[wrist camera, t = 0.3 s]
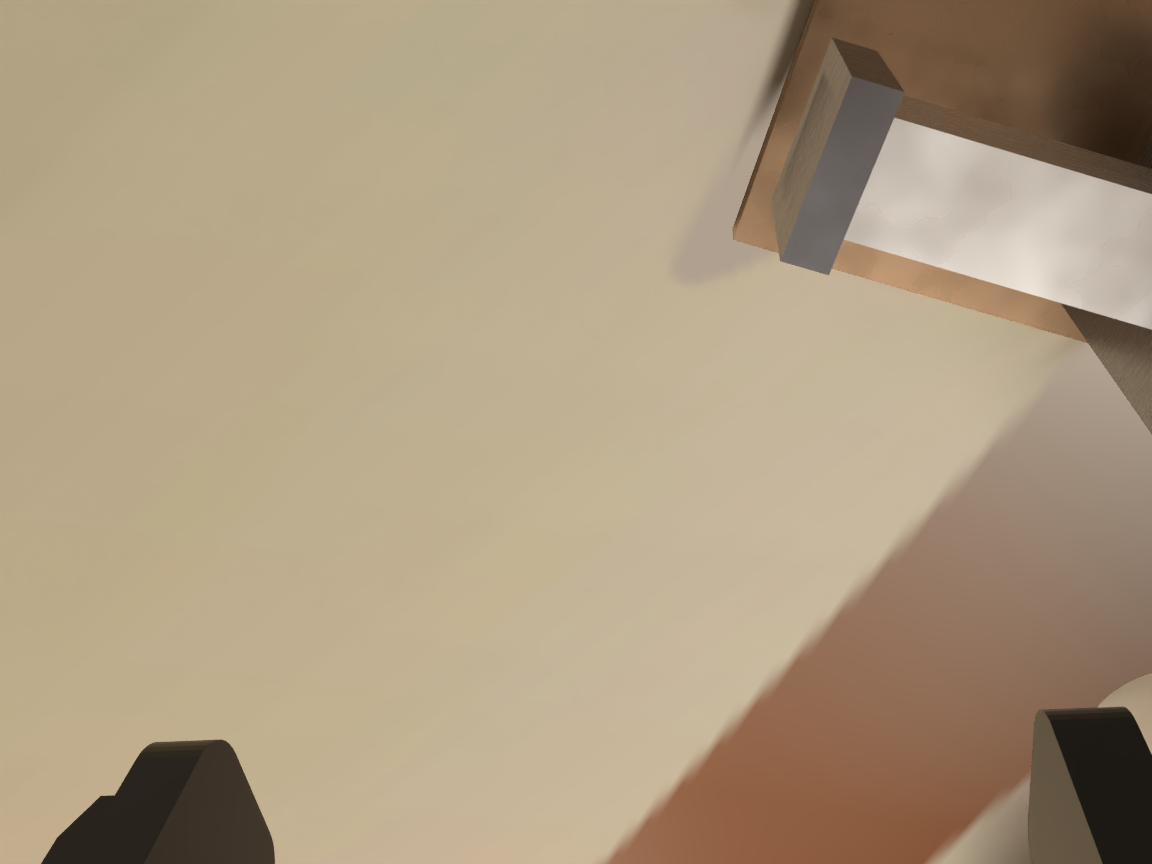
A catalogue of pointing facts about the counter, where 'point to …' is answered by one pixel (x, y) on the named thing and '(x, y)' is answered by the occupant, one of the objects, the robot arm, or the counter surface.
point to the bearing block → (999, 94)
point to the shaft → (961, 194)
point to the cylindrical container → (1135, 703)
